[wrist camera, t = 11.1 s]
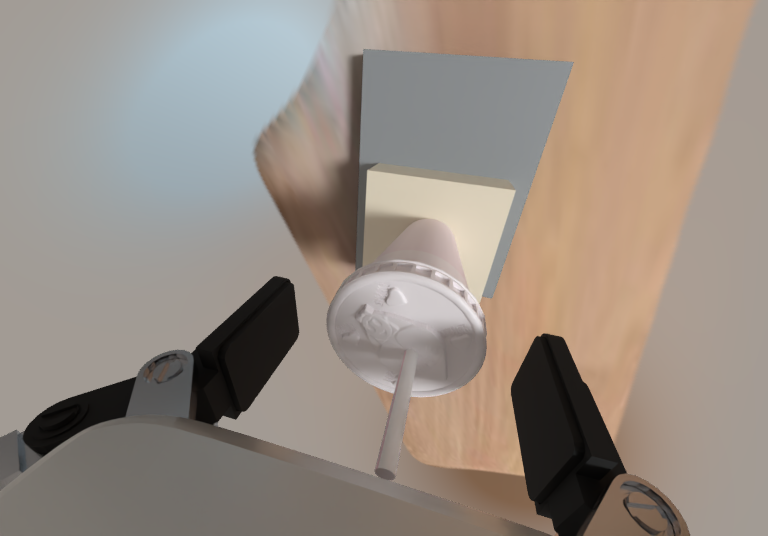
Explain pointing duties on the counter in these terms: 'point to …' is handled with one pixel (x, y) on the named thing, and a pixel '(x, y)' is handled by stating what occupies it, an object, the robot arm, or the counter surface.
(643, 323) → the counter surface
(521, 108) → the base board
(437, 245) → the smoothie
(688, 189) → the counter surface
